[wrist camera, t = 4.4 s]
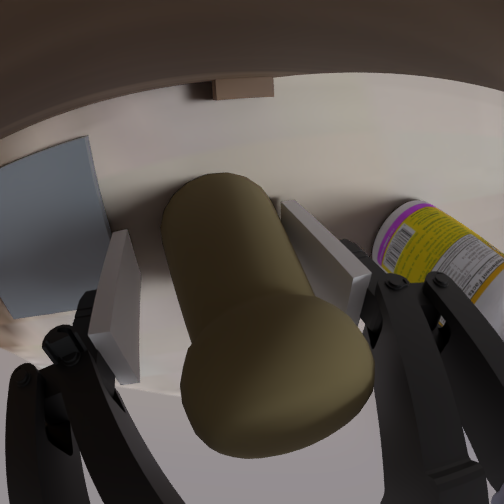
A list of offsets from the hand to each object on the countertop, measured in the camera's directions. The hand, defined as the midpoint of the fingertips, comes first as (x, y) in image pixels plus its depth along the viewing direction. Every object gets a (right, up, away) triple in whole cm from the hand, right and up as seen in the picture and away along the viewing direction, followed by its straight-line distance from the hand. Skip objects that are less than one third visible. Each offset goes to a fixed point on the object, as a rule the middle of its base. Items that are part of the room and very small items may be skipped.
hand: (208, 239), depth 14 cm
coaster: (-9, 0, -2) cm, 9 cm away
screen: (-6, +6, -5) cm, 10 cm away
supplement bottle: (+13, 0, +5) cm, 14 cm away
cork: (0, +1, +1) cm, 1 cm away
